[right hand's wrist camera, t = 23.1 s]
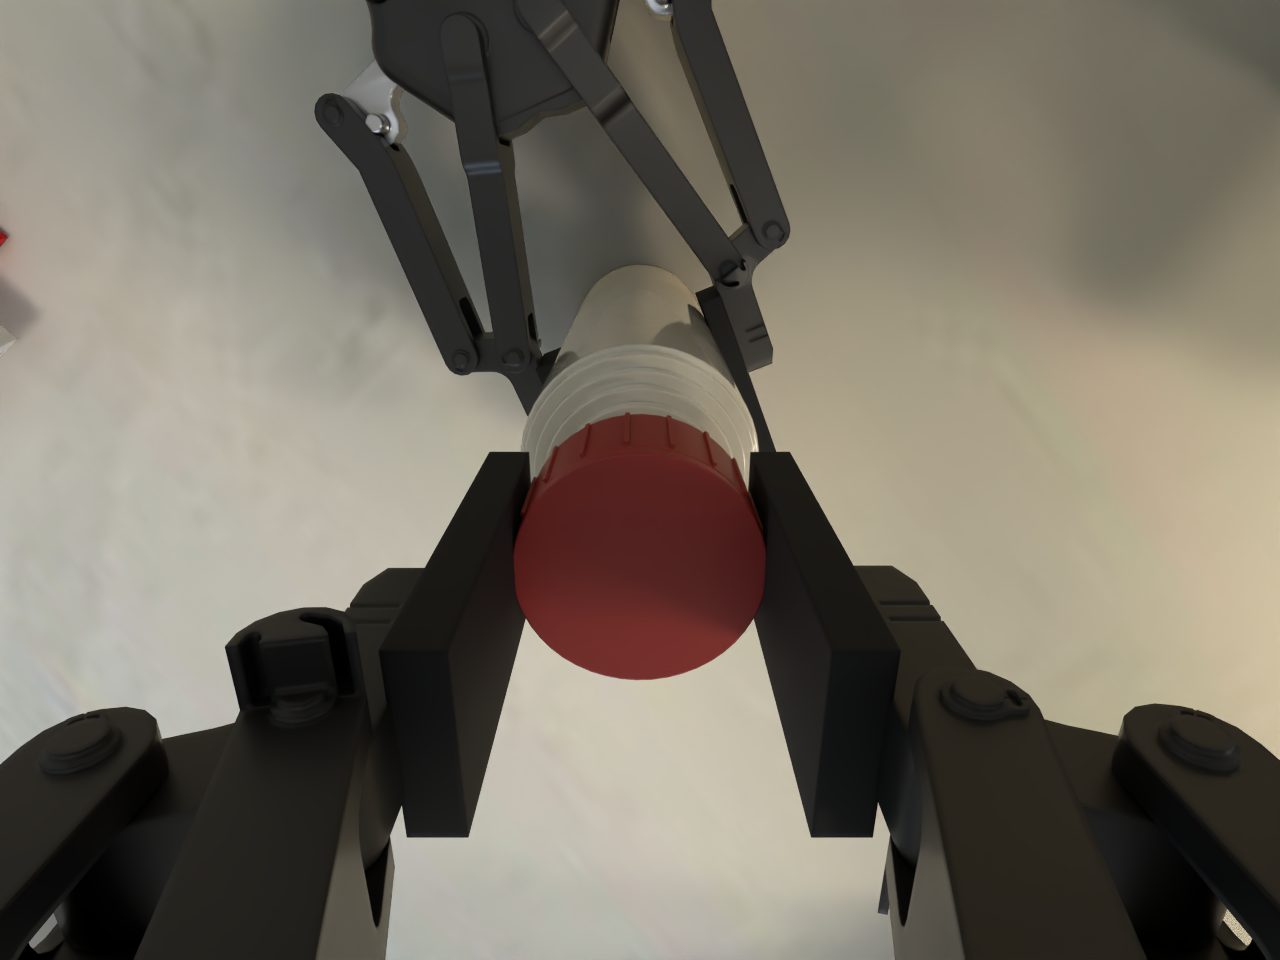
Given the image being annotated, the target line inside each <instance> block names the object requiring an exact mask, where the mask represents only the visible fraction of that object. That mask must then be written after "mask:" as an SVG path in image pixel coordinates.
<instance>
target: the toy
mask: <svg viewBox="0 0 1280 960" xmlns="http://www.w3.org/2000/svg"><path fill="white" fill-rule="evenodd" d="M7 238H8V237H7V236H6V235H4V234H3V233H2V232H0V246H1V245H2V244H3V242H4V241H5V240H6V239H7ZM16 340H17V338H16V337H15V336H14V335H12V334H11V333H10V332H8V331H7V330H6V329H4V328H3V327H2V326H1V325H0V357H1V356H2V355H3V354H4V353H5V352H6V351H7V350H8V349H9V348H10V347H11V345H12V344H13V343H14V342H15V341H16Z"/></svg>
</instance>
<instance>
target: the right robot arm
mask: <svg viewBox="0 0 1280 960" xmlns="http://www.w3.org/2000/svg"><path fill="white" fill-rule="evenodd" d="M530 485H531V474H530V457H529V452H489V454H488V456H487V458H486V459H485V461H484V463H483V465H482V467H481V468H480V470H479V472H478V474H477V475H476V477H475V479H474V481H473V483H472V484H471V486H470V488H469V490H468V492H467V493H466V495H465V497H464V499H463V500H462V502H461V504H460V506H459V508H458V509H457V511H456V513H455V515H454V517H453V518H452V520H451V522H450V524H449V526H448V527H447V529H446V531H445V533H444V534H443V536H442V538H441V540H440V542H439V543H438V545H437V547H436V549H435V551H434V552H433V554H432V556H431V558H430V559H429V561H428V563H427V565H426V567H425V568H387V569H386V570H384V571H383V572H381V573H380V574H378V575H377V576H376V577H374V578H373V579H371V580H370V581H368V582H367V583H365V584H364V585H363V586H362V587H361V589H360V590H359V592H358V593H357V595H356V596H355V598H354V599H353V600H352V602H351V603H350V608H347V609H346V611H345V612H343V611H339V610H335V609H331V608H327V607H308V608H299V609H294V610H288V611H283V612H279V613H276V614H273V615H271V616H268V617H265V618H263V619H260V620H257V621H255V622H254V623H252V624H250V625H249V626H247V627H246V628H244V629H242V630H241V631H239V632H238V633H236V634H235V636H234V637H233V638H232V639H231V640H230V641H229V642H228V644H227V645H226V646H225V650H226V654H227V658H228V662H229V666H230V670H231V675H232V679H233V683H234V687H235V691H236V695H237V699H238V704H239V708H240V712H239V714H238V717H237V719H236V721H235V723H232V724H228V725H225V726H221V727H217V728H213V729H208V730H203V731H199V732H194V733H189V734H184V735H179V736H174V737H170V738H165V739H162V737H161V734H160V731H159V727H158V724H157V720H156V719H155V718H154V717H153V716H152V715H150V714H149V713H148V712H147V711H146V710H141V709H135V708H129V707H119V708H109V709H100V710H96V711H91V712H87V713H86V714H84V713H83V714H80V715H77V716H74V717H71V718H69V719H67V720H65V721H63V722H61V723H59V724H57V725H55V726H53V727H51V728H49V729H46V730H44V731H43V732H41V733H40V734H38V735H37V736H35V737H34V738H33V739H31V740H30V741H28V742H27V743H25V744H24V745H23V746H21V747H20V748H19V749H17V750H16V751H15V752H14V753H13V754H12V755H11V756H10V757H8V758H7V759H6V760H5V761H4V762H3V763H2V764H0V960H385V956H386V947H387V937H388V927H389V917H390V908H391V898H392V888H393V879H394V869H395V865H394V859H393V852H392V846H391V840H390V834H391V831H392V829H393V826H394V824H395V821H396V818H397V816H398V813H399V811H400V808H401V805H402V808H403V815H404V822H405V828H406V835H407V837H469V833H470V829H471V825H472V821H473V818H474V814H475V810H476V806H477V802H478V798H479V795H480V791H481V787H482V783H483V779H484V776H485V772H486V768H487V764H488V760H489V756H490V753H491V749H492V745H493V741H494V737H495V734H496V730H497V726H498V722H499V718H500V715H501V711H502V707H503V703H504V699H505V695H506V692H507V688H508V684H509V680H510V676H511V673H512V669H513V665H514V661H515V657H516V653H517V650H518V646H519V642H520V638H521V634H522V631H523V627H524V623H525V619H526V617H525V616H524V614H523V612H522V610H521V607H520V605H519V603H518V600H517V597H516V586H515V572H514V557H513V547H514V542H515V538H516V535H517V532H518V530H519V527H520V524H521V521H522V518H523V517H521V516H520V513H521V510H522V507H523V505H524V502H525V499H526V496H527V494H528V491H529V488H530ZM749 491H750V493H751V496H752V499H753V501H754V504H755V507H756V510H757V513H758V515H759V518H760V521H761V524H762V527H763V537H764V541H765V544H766V565H765V580H764V593H763V598H762V601H761V604H760V607H759V609H758V611H757V613H756V615H755V617H754V621H755V625H756V628H757V632H758V636H759V640H760V644H761V648H762V651H763V655H764V659H765V663H766V667H767V670H768V674H769V678H770V682H771V686H772V690H773V693H774V697H775V701H776V705H777V709H778V712H779V716H780V720H781V724H782V728H783V732H784V735H785V739H786V743H787V747H788V751H789V754H790V758H791V762H792V766H793V770H794V774H795V777H796V781H797V785H798V789H799V793H800V796H801V800H802V804H803V808H804V812H805V816H806V819H807V823H808V827H809V831H810V835H811V837H873V832H874V825H875V818H876V812H877V805H878V803H879V806H880V808H881V811H882V813H883V816H884V819H885V821H886V824H887V826H888V829H889V832H890V840H889V846H888V852H887V858H886V864H885V870H884V877H883V883H882V889H881V895H880V901H879V908H878V913H881V914H886V915H887V914H888V909H889V906H890V916H891V925H892V935H893V945H894V954H895V960H1280V760H1279V759H1278V758H1276V757H1275V756H1274V755H1273V754H1272V753H1271V752H1270V751H1268V750H1267V749H1266V748H1265V747H1264V746H1263V745H1261V744H1260V743H1259V742H1257V741H1256V740H1254V739H1253V738H1252V737H1250V736H1249V735H1247V734H1246V733H1244V732H1243V731H1242V730H1240V729H1239V728H1237V727H1235V726H1233V725H1231V724H1229V723H1227V722H1224V721H1222V720H1220V719H1218V718H1216V717H1214V716H1213V715H1211V714H1208V713H1205V712H1202V711H1199V710H1197V711H1196V710H1193V709H1192V708H1187V707H1182V706H1175V705H1165V704H1149V705H1143V706H1137V707H1134V708H1133V709H1132V710H1131V711H1130V712H1128V713H1127V714H1126V715H1125V716H1124V718H1123V722H1122V725H1121V729H1120V732H1119V735H1118V736H1116V735H1111V734H1107V733H1102V732H1097V731H1092V730H1087V729H1082V728H1077V727H1072V726H1068V725H1063V724H1060V723H1056V722H1052V721H1049V720H1045V719H1044V718H1043V715H1042V713H1041V711H1040V709H1039V708H1038V706H1037V705H1036V704H1035V702H1034V701H1033V699H1032V698H1031V697H1030V695H1029V694H1027V693H1026V692H1025V691H1023V690H1022V689H1020V688H1019V687H1018V686H1016V685H1015V684H1014V683H1012V682H1011V681H1008V680H1006V679H1004V678H1001V677H999V676H997V675H995V674H992V673H990V672H987V671H982V670H978V669H976V667H975V666H974V664H973V663H972V661H971V660H970V659H969V657H968V656H967V654H966V653H965V651H964V650H963V648H962V647H961V646H960V644H959V643H958V641H957V640H956V638H955V637H954V636H953V634H952V633H951V631H950V630H949V628H948V627H947V625H946V624H945V623H944V621H941V617H940V615H939V614H938V612H937V611H936V610H935V608H934V607H933V605H930V601H929V600H928V598H927V597H926V595H925V594H924V592H923V591H922V589H921V588H920V587H919V585H918V584H917V582H915V581H914V580H912V579H911V578H909V577H908V576H906V575H905V574H903V573H902V572H900V571H899V570H897V569H896V568H894V567H893V566H853V564H852V562H851V560H850V559H849V557H848V555H847V553H846V551H845V550H844V548H843V546H842V544H841V542H840V541H839V539H838V537H837V535H836V534H835V532H834V530H833V528H832V526H831V525H830V523H829V521H828V519H827V517H826V516H825V514H824V512H823V510H822V509H821V507H820V505H819V503H818V501H817V500H816V498H815V496H814V494H813V492H812V491H811V489H810V487H809V485H808V484H807V482H806V480H805V478H804V476H803V475H802V473H801V471H800V469H799V467H798V466H797V464H796V462H795V460H794V458H793V457H792V455H791V453H790V452H750V466H749V484H748V492H749ZM1227 909H1228V910H1229V911H1230V912H1231V914H1232V915H1233V916H1234V917H1235V918H1236V920H1237V921H1238V922H1239V923H1240V924H1241V926H1242V927H1243V928H1244V929H1245V930H1246V932H1247V933H1248V934H1249V935H1250V936H1251V938H1252V941H1251V943H1250V944H1249V945H1248V946H1247V945H1245V944H1244V943H1243V942H1242V941H1241V940H1240V939H1239V938H1238V937H1237V936H1236V935H1235V934H1234V933H1233V932H1232V930H1231V929H1230V928H1229V927H1228V926H1227V924H1226V923H1225V922H1224V921H1223V918H1224V916H1225V913H1226V911H1227ZM53 913H54V915H55V917H56V920H57V922H58V923H57V924H56V926H55V927H54V928H53V929H52V931H51V932H50V933H49V934H48V935H47V937H46V938H45V939H44V940H43V941H41V942H40V943H39V944H38V945H37V946H36V947H35V948H34V949H33V948H31V947H30V945H29V943H28V942H29V941H30V940H31V939H32V938H33V936H34V935H35V934H36V933H37V932H38V930H39V929H40V928H41V927H42V926H43V924H44V923H45V922H46V921H47V920H48V918H49V917H50V916H51V915H52V914H53Z"/></svg>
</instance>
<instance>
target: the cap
mask: <svg viewBox="0 0 1280 960" xmlns="http://www.w3.org/2000/svg"><path fill="white" fill-rule="evenodd" d="M520 516H521V517H523V518H522V521H521V524H520V527H519V530H518V532H517V535H516V538H515V542H514V547H513V557H514V572H515V586H516V597H517V600H518V603H519V605H520V607H521V610H522V612H523V614H524V616H525V617H526V619H527V621H528V622H529V624H530V626H531V627H532V628H533V629H534V631H535V632H536V633H537V635H538V636H539V637H540V638H541V639H542V640H543V641H544V642H545V643H546V644H547V645H548V646H549V647H550V648H551V649H553V650H554V651H555V652H557V653H558V654H559V655H560V656H562V657H563V658H565V659H567V660H568V661H570V662H572V663H573V664H575V665H577V666H579V667H582V668H584V669H586V670H589V671H591V672H594V673H598V674H601V675H604V676H609V677H614V678H619V679H630V680H652V679H659V678H667V677H671V676H675V675H679V674H683V673H685V672H688V671H691V670H693V669H696V668H698V667H700V666H702V665H704V664H706V663H708V662H710V661H712V660H713V659H715V658H716V657H717V656H719V655H720V654H722V653H723V652H725V651H726V650H727V649H728V648H729V647H730V646H731V645H733V644H734V643H735V642H736V641H737V640H738V638H739V637H740V636H741V635H742V634H743V633H744V632H745V630H746V629H747V627H748V626H749V625H750V623H751V622H752V620H753V619H754V617H755V615H756V613H757V611H758V609H759V607H760V604H761V601H762V598H763V593H764V580H765V565H766V544H765V541H764V537H763V527H762V524H761V521H760V518H759V515H758V513H757V510H756V507H755V504H754V501H753V499H752V496H751V493H750V491H749V492H748V490H747V487H746V485H745V482H744V480H743V478H742V475H741V472H740V469H739V466H738V463H737V460H736V459H735V458H731V457H730V456H729V455H728V454H727V452H726V451H725V450H724V449H723V448H722V447H721V446H720V445H719V444H718V443H717V442H716V441H714V440H713V439H712V438H711V437H710V436H709V433H708V432H707V431H704V433H703V432H702V431H701V430H699V429H697V428H695V427H693V426H691V425H689V424H687V423H684V422H681V421H678V420H676V419H673V418H672V417H671V416H670V415H667V417H664V416H659V415H649V414H630V412H627V413H625V415H622V416H616V417H611V418H608V419H604V420H601V421H598V422H596V423H593V424H591V425H590V423H587V424H585V427H584V428H583V429H581V430H579V431H578V432H576V433H575V434H573V435H571V436H570V437H569V438H568V439H566V440H565V441H564V442H563V443H562V444H560V445H559V447H558V446H555V447H554V448H553V450H552V453H551V455H550V457H549V458H548V459H547V461H546V462H545V464H544V465H543V467H542V469H541V471H540V473H539V474H538V476H537V478H536V477H534V478H533V480H532V483H531V485H530V488H529V491H528V494H527V496H526V499H525V502H524V505H523V507H522V510H521V513H520Z"/></svg>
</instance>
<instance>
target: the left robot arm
mask: <svg viewBox="0 0 1280 960" xmlns="http://www.w3.org/2000/svg"><path fill="white" fill-rule="evenodd" d="M619 1H620V0H366V2H367V5H368V8H369V12H370V17H371V23H372V49H373V54H374V57H375V60H374V61H373V62H372V63H371V64H370V65H369V66H368V67H367V68H366V69H365V70H364V72H363V73H362V74H361V75H360V76H359V77H358V78H357V79H356V80H355V81H354V82H353V83H352V84H351V85H350V86H349V87H348V88H347V89H346V90H345V91H344V92H343V93H342V94H341V95H337V94H333V93H330V94H324V95H323V96H321V97H320V98H319V99H318V101H317V102H316V104H315V116H316V120H317V122H318V123H319V125H320V127H321V128H322V129H323V130H324V131H325V132H326V134H327V135H328V136H329V137H330V138H331V139H332V140H333V142H334V143H335V144H336V145H337V146H338V147H339V148H340V150H341V151H342V152H343V153H344V154H345V155H346V156H347V158H348V159H349V160H350V161H351V162H352V163H353V164H354V165H355V167H356V168H357V169H358V170H359V172H360V174H361V176H362V179H363V181H364V183H365V185H366V187H367V190H368V192H369V194H370V196H371V199H372V201H373V203H374V205H375V208H376V210H377V212H378V214H379V216H380V219H381V221H382V223H383V225H384V228H385V230H386V232H387V234H388V237H389V239H390V241H391V243H392V245H393V248H394V250H395V252H396V254H397V257H398V259H399V261H400V263H401V266H402V268H403V270H404V272H405V274H406V277H407V279H408V281H409V283H410V286H411V288H412V290H413V292H414V295H415V297H416V299H417V301H418V303H419V306H420V308H421V310H422V312H423V315H424V317H425V319H426V321H427V324H428V326H429V328H430V330H431V332H432V335H433V337H434V339H435V341H436V344H437V346H438V348H439V350H440V353H441V355H442V357H443V359H444V361H445V364H446V365H447V367H448V368H449V370H450V371H452V372H453V373H455V374H457V375H461V376H462V375H468V374H470V373H472V372H498V373H501V374H503V375H504V376H506V377H507V378H508V379H509V380H510V381H511V383H512V385H513V387H514V389H515V391H516V393H517V395H518V397H519V399H520V401H521V403H522V406H523V408H524V410H525V412H526V414H527V416H529V414H530V412H531V410H532V408H533V405H534V403H535V401H536V399H537V397H538V395H539V393H540V391H541V389H542V387H543V385H544V383H545V381H546V379H547V376H548V374H549V372H550V370H551V368H552V366H553V364H554V362H555V360H556V358H557V356H558V354H559V352H560V350H561V348H558V349H556V350H553V351H551V352H548V353H546V354H544V356H542V353H541V351H540V349H539V348H540V346H541V339H538V332H537V325H536V318H535V311H534V305H533V298H532V291H531V284H530V277H529V270H528V263H527V256H526V249H525V242H524V235H523V229H522V222H521V215H520V208H519V201H518V194H517V187H516V180H515V159H514V152H513V145H512V139H514V138H516V137H518V136H521V135H523V134H525V133H527V132H528V131H529V130H531V129H532V128H533V127H534V126H535V125H536V124H538V123H539V122H540V121H541V120H542V119H543V118H545V117H550V116H557V115H565V114H569V113H572V112H574V111H576V110H578V109H580V108H583V107H585V106H587V107H588V109H589V110H590V111H591V113H592V114H593V115H594V117H595V118H596V119H597V121H598V122H599V124H600V125H601V126H602V128H603V129H604V130H605V132H606V133H607V134H608V136H609V137H610V139H611V140H612V141H613V143H614V144H615V145H616V147H617V148H618V149H619V151H620V152H621V154H622V155H623V156H624V158H625V159H626V160H627V162H628V163H629V164H630V166H631V167H632V169H633V170H634V171H635V173H636V174H637V175H638V177H639V178H640V180H641V181H642V182H643V184H644V185H645V186H646V188H647V189H648V190H649V192H650V193H651V195H652V196H653V197H654V199H655V200H656V201H657V203H658V204H659V206H660V207H661V208H662V210H663V211H664V212H665V214H666V215H667V216H668V218H669V219H670V221H671V222H672V223H673V225H674V226H675V227H676V229H677V230H678V231H679V233H680V234H681V236H682V237H683V238H684V240H685V241H686V242H687V244H688V245H689V247H690V248H691V249H692V251H693V252H694V253H695V255H696V256H697V257H698V259H699V260H700V262H701V263H702V264H703V266H704V267H705V268H706V270H707V271H708V273H709V275H710V278H711V280H712V283H713V286H711V287H709V288H706V289H704V290H701V291H699V292H696V293H695V294H696V296H697V299H698V302H699V304H700V307H701V310H702V313H703V315H704V318H705V321H706V323H707V325H708V327H709V329H710V331H711V333H712V335H713V337H714V339H715V341H716V344H717V346H718V348H719V350H720V352H721V354H722V356H723V358H724V360H725V362H726V364H727V366H728V368H729V371H730V373H731V375H732V377H733V379H734V381H735V383H736V385H737V387H738V389H739V391H740V393H741V395H742V397H743V400H744V402H745V404H746V406H747V408H748V410H749V413H750V415H751V417H752V419H753V423H754V426H755V430H756V433H757V440H758V447H759V452H776V450H775V447H774V444H773V441H772V438H771V435H770V433H769V430H768V427H767V424H766V421H765V419H764V416H763V413H762V410H761V407H760V404H759V402H758V399H757V396H756V393H755V390H754V387H753V385H752V382H751V379H750V376H749V373H748V372H751V371H753V370H756V369H759V368H761V367H764V366H766V365H769V364H772V356H773V347H772V344H771V341H770V338H769V335H768V332H767V330H766V327H765V324H764V321H763V318H762V315H761V312H760V309H759V306H758V303H757V300H756V297H755V294H754V291H753V288H752V275H753V271H754V270H755V268H756V266H757V265H758V264H759V263H760V262H761V261H762V260H763V259H764V258H765V257H767V256H768V255H769V254H770V253H771V252H772V251H773V250H775V249H777V248H779V247H781V246H782V245H784V244H785V243H786V241H787V240H788V238H789V234H790V225H789V221H788V219H787V216H786V213H785V210H784V208H783V205H782V202H781V199H780V197H779V194H778V191H777V188H776V185H775V183H774V180H773V177H772V174H771V172H770V169H769V166H768V163H767V161H766V158H765V155H764V152H763V150H762V147H761V144H760V141H759V138H758V136H757V133H756V130H755V127H754V125H753V122H752V119H751V116H750V114H749V111H748V108H747V105H746V103H745V100H744V97H743V94H742V92H741V89H740V86H739V83H738V80H737V78H736V75H735V72H734V69H733V67H732V64H731V61H730V58H729V56H728V53H727V50H726V47H725V45H724V42H723V39H722V36H721V34H720V31H719V28H718V25H717V22H716V20H715V17H714V14H713V11H712V7H711V0H644V3H645V6H646V9H647V11H648V13H649V15H650V16H651V17H653V18H654V19H656V20H658V21H670V27H671V32H672V36H673V41H674V45H675V48H676V51H677V54H678V57H679V59H680V62H681V65H682V67H683V70H684V72H685V75H686V78H687V80H688V83H689V85H690V88H691V91H692V93H693V96H694V98H695V101H696V104H697V106H698V109H699V112H700V114H701V117H702V119H703V122H704V125H705V127H706V130H707V132H708V135H709V138H710V140H711V143H712V145H713V148H714V151H715V153H716V156H717V158H718V161H719V164H720V166H721V169H722V171H723V174H724V177H725V179H726V182H727V184H728V187H729V190H730V192H731V195H732V198H733V200H734V203H735V205H736V208H737V211H738V213H739V216H740V218H741V221H742V224H743V225H742V226H741V227H740V228H739V229H738V230H737V231H735V232H734V233H733V234H732V235H731V236H730V237H729V238H728V236H727V235H726V234H725V232H724V231H723V229H722V228H721V227H720V225H719V224H718V222H717V221H716V220H715V218H714V217H713V215H712V214H711V213H710V211H709V210H708V208H707V207H706V205H705V204H704V203H703V201H702V200H701V198H700V197H699V196H698V194H697V193H696V191H695V190H694V189H693V187H692V186H691V184H690V183H689V182H688V180H687V179H686V177H685V176H684V174H683V173H682V172H681V170H680V169H679V167H678V166H677V165H676V163H675V162H674V160H673V159H672V158H671V156H670V155H669V153H668V152H667V151H666V149H665V148H664V146H663V145H662V143H661V142H660V141H659V139H658V138H657V136H656V135H655V134H654V132H653V131H652V129H651V128H650V127H649V125H648V124H647V122H646V121H645V120H644V118H643V117H642V115H641V114H640V113H639V111H638V110H637V108H636V107H635V105H634V104H633V103H632V101H631V100H630V98H629V96H628V95H627V93H626V92H625V90H624V89H623V87H622V86H621V84H620V83H619V81H618V80H617V79H616V77H615V76H614V74H613V73H612V72H611V70H610V69H609V67H608V66H607V65H606V64H607V59H608V54H609V49H610V44H611V39H612V35H613V30H614V25H615V20H616V15H617V10H618V5H619ZM404 90H406V91H407V92H409V93H411V94H412V95H414V96H415V97H417V98H418V99H420V100H421V101H423V102H424V103H426V104H427V105H429V106H430V107H432V108H433V109H435V110H436V111H438V112H439V113H441V114H442V115H444V116H445V117H447V118H448V119H450V120H451V121H453V122H454V123H455V126H456V132H457V138H458V144H459V150H460V156H461V161H462V164H463V168H464V170H465V172H466V175H467V179H468V184H469V190H470V196H471V202H472V208H473V214H474V220H475V226H476V232H477V238H478V244H479V250H480V256H481V262H482V268H483V274H484V280H485V286H486V292H487V298H488V304H489V310H490V316H491V322H492V328H493V332H485V330H484V328H483V325H482V323H481V321H480V318H479V316H478V314H477V311H476V309H475V306H474V304H473V302H472V299H471V297H470V295H469V292H468V290H467V287H466V285H465V283H464V280H463V278H462V276H461V273H460V271H459V268H458V266H457V264H456V261H455V259H454V257H453V254H452V252H451V249H450V247H449V245H448V242H447V240H446V238H445V235H444V233H443V231H442V228H441V226H440V223H439V221H438V219H437V216H436V214H435V212H434V209H433V207H432V204H431V202H430V200H429V197H428V195H427V193H426V190H425V188H424V185H423V183H422V181H421V178H420V176H419V174H418V172H417V170H416V167H415V165H414V163H413V161H412V160H411V158H410V156H409V155H408V153H407V151H406V150H405V148H404V147H403V146H402V144H401V143H402V141H403V140H404V139H405V137H406V134H407V125H406V121H405V119H404V117H403V115H402V113H401V111H400V106H399V101H400V97H401V94H402V93H403V91H404Z"/></svg>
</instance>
